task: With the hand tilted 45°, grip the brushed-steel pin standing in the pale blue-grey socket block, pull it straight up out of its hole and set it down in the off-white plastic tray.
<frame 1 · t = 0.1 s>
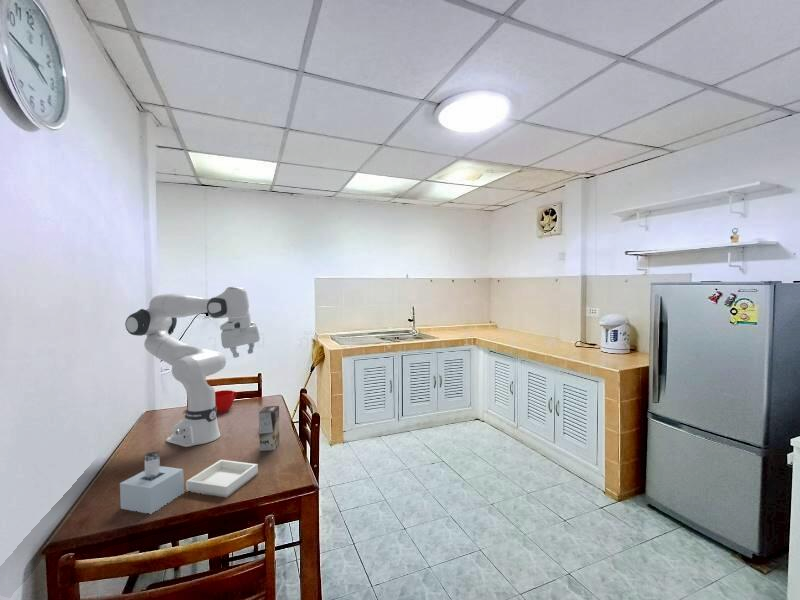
hand: (243, 355, 161), 39 cm above the table, tool pointing down, fingers open, 8 cm apart
ceramic cup: (224, 410, 209), on the table
socket block: (153, 500, 119), on the table
tray: (223, 482, 130), on the table
steel pin: (153, 485, 119), point 5 cm above the table, touching socket block
coffee box: (270, 446, 160), on the table
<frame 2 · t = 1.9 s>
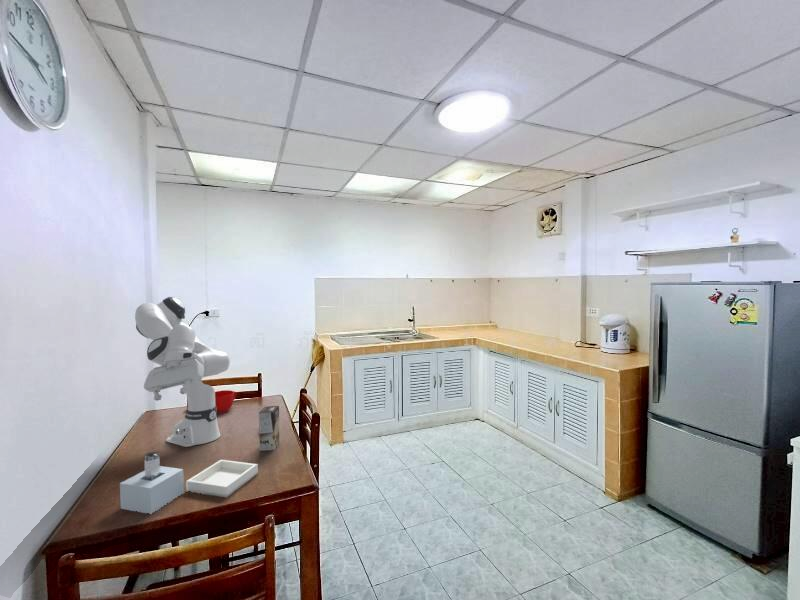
hand: (170, 396, 130), 30 cm above the table, tool tilted 40°, fingers open, 8 cm apart
nothing on the table moved.
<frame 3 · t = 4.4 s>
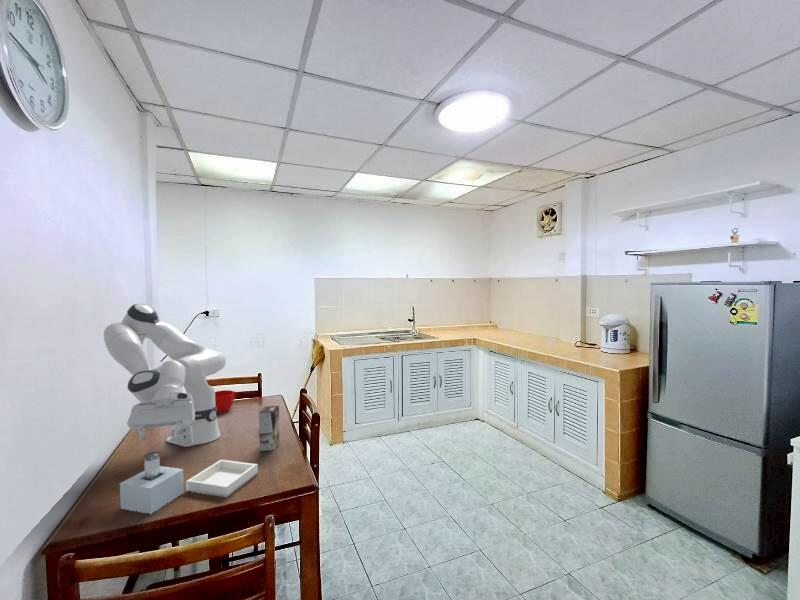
hand: (158, 437, 127), 17 cm above the table, tool tilted 45°, fingers open, 8 cm apart
nothing on the table moved.
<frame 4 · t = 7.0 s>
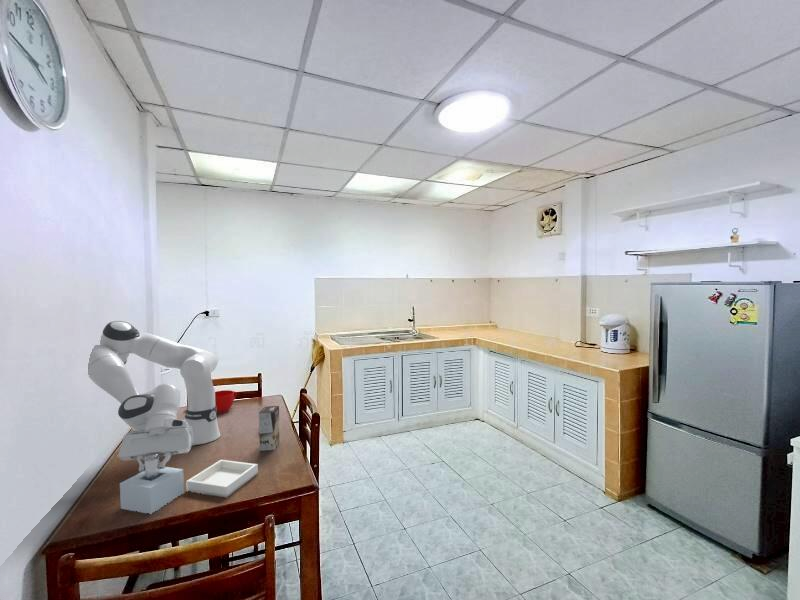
hand: (151, 469, 119), 10 cm above the table, tool tilted 45°, fingers closed on steel pin, 4 cm apart
steel pin: (153, 485, 119), point 5 cm above the table, touching gripper, socket block
everything else where it was.
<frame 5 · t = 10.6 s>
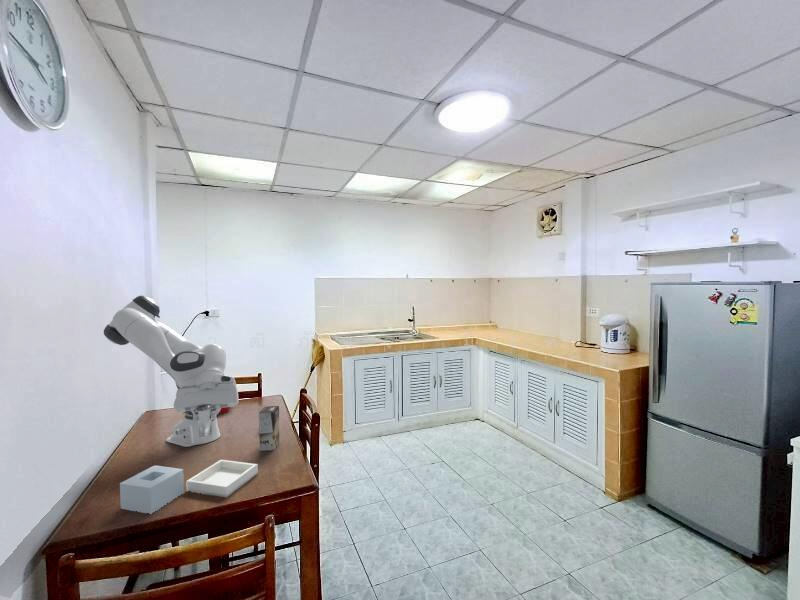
hand: (204, 419, 126), 23 cm above the table, tool tilted 45°, fingers closed on steel pin, 4 cm apart
steel pin: (205, 434, 127), point 18 cm above the table, touching gripper
everything else where it was.
when the fingers open (8 cm above the table, at t = 14.3 s): steel pin drops 2 cm, resting on tray.
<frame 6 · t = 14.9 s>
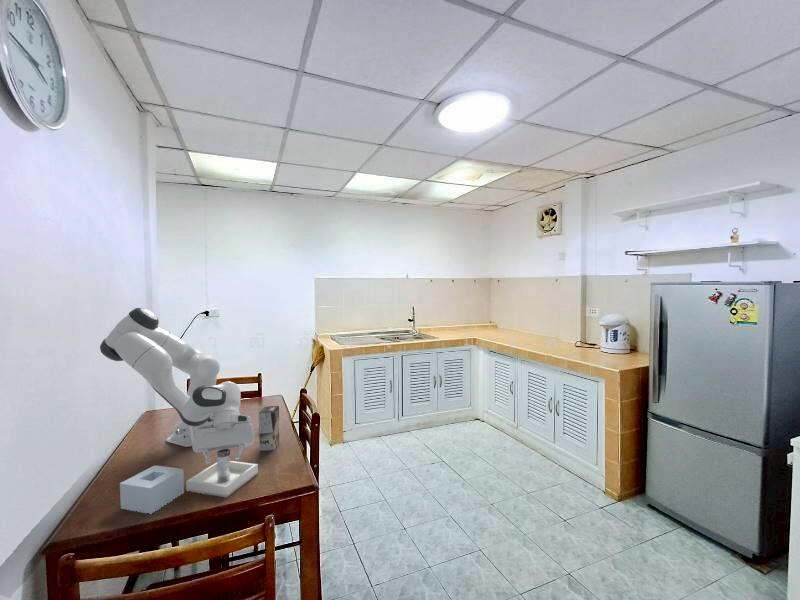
hand: (222, 460, 129), 8 cm above the table, tool tilted 45°, fingers open, 8 cm apart
steel pin: (223, 479, 130), point 1 cm above the table, touching tray
everything else where it was.
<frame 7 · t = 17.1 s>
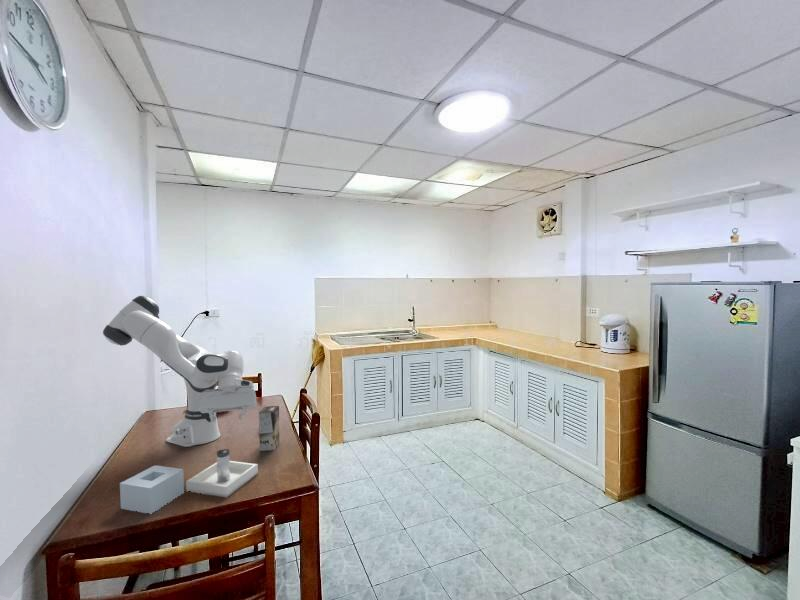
hand: (227, 420, 139), 19 cm above the table, tool tilted 45°, fingers open, 8 cm apart
nothing on the table moved.
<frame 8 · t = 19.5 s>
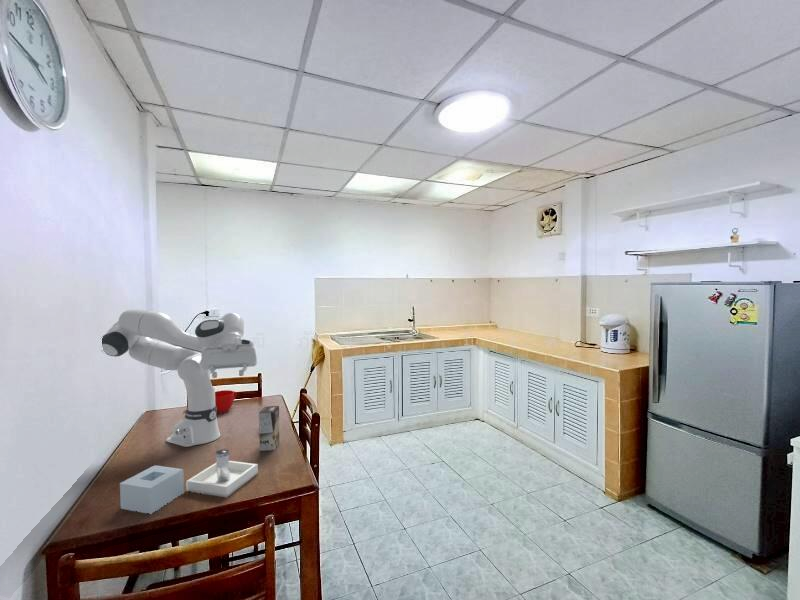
hand: (227, 376, 142), 34 cm above the table, tool tilted 45°, fingers open, 8 cm apart
nothing on the table moved.
at the end: steel pin inside the target area on the tray (0.0 cm from its centre), point 0.8 cm above the tray's base; the gripper is holding nothing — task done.
